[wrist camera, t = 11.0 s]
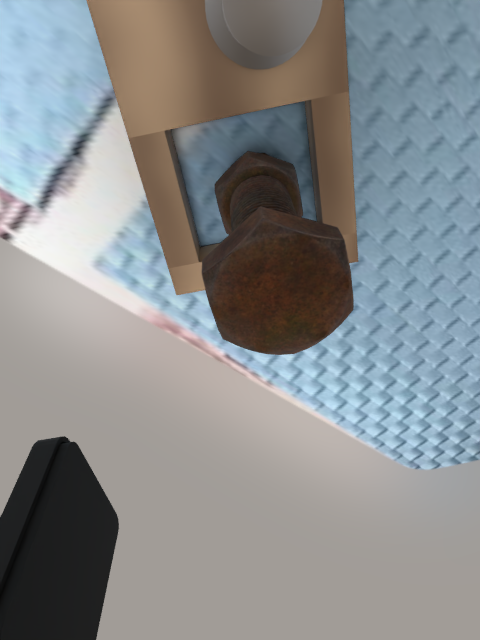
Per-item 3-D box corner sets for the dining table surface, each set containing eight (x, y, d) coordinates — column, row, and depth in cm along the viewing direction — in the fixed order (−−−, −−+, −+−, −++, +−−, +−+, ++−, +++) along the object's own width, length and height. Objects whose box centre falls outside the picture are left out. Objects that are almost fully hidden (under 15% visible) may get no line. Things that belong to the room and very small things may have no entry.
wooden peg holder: (326, -97, 22) (382, -166, 14) (348, 245, 31) (389, 314, 24) (86, -39, 23) (18, -74, 15) (179, 277, 32) (166, 354, 25)
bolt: (300, 209, 30) (360, 346, 17) (226, 227, 30) (232, 373, 18) (284, 116, 27) (342, 202, 14) (201, 138, 27) (188, 241, 15)
